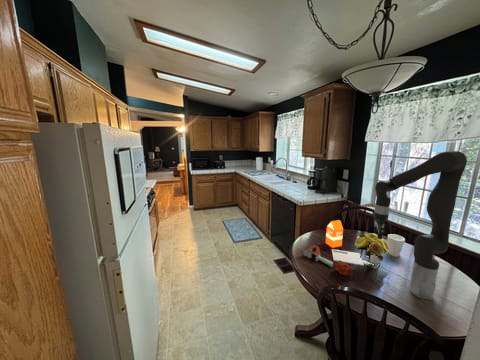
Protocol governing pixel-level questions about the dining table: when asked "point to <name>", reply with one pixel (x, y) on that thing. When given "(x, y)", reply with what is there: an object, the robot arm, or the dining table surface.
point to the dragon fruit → (343, 268)
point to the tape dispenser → (316, 251)
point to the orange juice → (334, 234)
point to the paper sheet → (346, 257)
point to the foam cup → (395, 244)
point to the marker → (373, 259)
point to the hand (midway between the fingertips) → (377, 235)
